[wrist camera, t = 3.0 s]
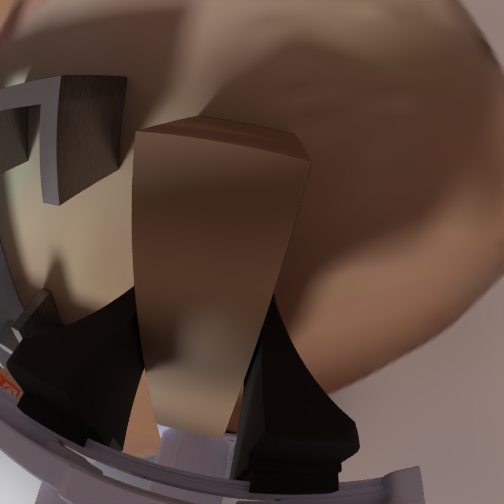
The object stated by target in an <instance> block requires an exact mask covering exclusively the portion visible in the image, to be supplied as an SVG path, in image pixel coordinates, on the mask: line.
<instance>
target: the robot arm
mask: <svg viewBox="0 0 504 504" xmlns="http://www.w3.org/2000/svg"><path fill="white" fill-rule="evenodd" d="M6 366H7V369H8V371H9V373H10V374H11V376H12V377H13V378H14V380H15V381H16V382H17V384H18V385H19V386H20V387H21V389H22V390H23V391H24V393H23V395H22V396H21V398H20V400H19V399H18V398H16V397H15V396H13V395H12V394H11V393H9V392H8V391H7V390H5V389H4V388H2V387H1V386H0V450H1V451H2V452H4V453H5V454H6V455H7V456H8V457H10V458H11V459H12V460H13V461H14V462H16V463H17V464H19V465H20V466H21V467H22V468H24V469H25V470H26V471H28V472H29V473H30V474H32V475H33V476H35V477H36V478H38V479H39V480H41V481H42V483H41V486H40V489H39V492H38V495H37V499H36V502H35V504H222V498H223V497H230V498H237V499H247V500H261V501H238V502H236V504H425V500H424V492H423V484H422V478H421V472H420V467H419V466H415V467H411V468H406V469H402V470H397V471H394V472H391V473H389V474H387V475H385V476H384V477H380V478H375V479H367V480H361V481H351V482H340V483H339V480H338V473H339V472H341V470H342V467H341V462H343V461H345V460H346V459H348V458H350V457H351V456H353V455H354V454H355V453H357V451H358V450H359V448H360V444H359V436H358V431H357V428H356V424H355V422H354V421H353V420H352V419H351V418H350V417H348V415H346V414H345V413H344V412H343V411H342V410H341V409H340V408H339V407H338V406H337V405H336V404H335V403H334V402H333V401H332V400H331V399H330V398H329V396H328V395H327V394H326V393H325V392H324V390H323V389H322V388H321V387H320V385H319V384H318V383H317V382H316V380H315V379H314V378H313V376H312V375H311V373H310V372H309V370H308V369H307V368H306V366H305V364H304V363H303V361H302V359H301V358H300V356H299V354H298V352H297V351H296V349H295V347H294V345H293V343H292V341H291V339H290V337H289V335H288V332H287V330H286V328H285V325H284V323H283V321H282V318H281V315H280V312H279V310H278V307H277V303H276V300H275V296H274V294H273V295H272V298H271V301H270V304H269V307H268V310H267V313H266V317H265V320H264V323H263V326H262V329H261V332H260V335H259V338H258V341H257V344H256V347H255V349H254V352H253V355H252V358H251V361H250V364H249V367H248V370H247V373H246V376H245V378H244V391H243V400H242V407H241V414H240V420H239V427H238V433H237V435H236V434H230V433H224V436H223V439H217V438H212V437H207V436H202V435H198V434H193V433H189V432H184V431H180V430H176V429H173V428H169V427H165V426H162V425H158V424H157V426H158V430H159V434H160V437H161V441H160V444H159V448H158V452H157V456H156V459H155V463H153V462H149V461H146V460H143V459H140V458H137V457H134V456H131V455H128V454H126V453H123V452H120V451H122V450H123V446H124V441H125V436H126V431H127V426H128V422H129V417H130V413H131V409H132V406H133V402H134V398H135V395H136V391H137V388H138V385H139V382H140V379H141V375H142V373H143V370H144V368H145V365H144V360H143V353H142V347H141V340H140V333H139V325H138V316H137V307H136V297H135V286H133V287H132V288H131V289H129V290H128V291H127V292H125V293H124V294H123V295H121V296H120V297H118V298H117V299H115V300H114V301H112V302H111V303H109V304H108V305H106V306H105V307H103V308H101V309H100V310H98V311H96V312H94V313H92V314H91V315H89V316H87V317H85V318H82V319H80V320H78V321H76V322H74V323H72V324H69V325H67V326H64V327H62V328H59V329H56V330H53V331H50V332H47V333H44V334H40V335H36V336H32V337H28V338H24V339H22V340H21V341H20V343H19V344H18V346H17V347H16V348H15V350H14V351H13V353H12V354H11V356H10V357H9V359H8V360H7V362H6ZM235 444H236V445H235ZM64 445H65V446H67V447H69V448H71V449H73V450H75V451H77V452H79V453H81V454H83V455H85V456H87V457H89V458H91V459H94V460H96V461H98V462H100V463H103V464H105V465H108V466H110V467H113V468H116V469H118V470H121V471H123V472H126V473H129V474H131V475H134V476H137V477H141V478H143V479H147V480H150V483H149V487H148V490H144V489H141V488H138V487H135V486H132V485H129V484H126V483H124V482H121V481H118V480H115V479H113V478H110V477H108V476H105V475H103V472H102V471H101V470H100V469H98V468H97V467H95V466H93V465H92V464H91V463H89V462H88V461H87V460H86V459H85V458H84V457H82V456H80V455H78V454H76V453H75V452H73V451H71V450H70V449H68V448H66V447H65V446H64ZM234 446H235V450H234V456H233V462H232V467H231V473H230V477H229V479H225V476H226V469H227V462H228V457H229V455H230V453H231V452H232V450H233V448H234Z"/></svg>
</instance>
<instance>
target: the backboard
mask: <svg viewBox="0 0 504 504" xmlns="http://www.w3.org/2000/svg"><path fill="white" fill-rule="evenodd" d="M23 311H24V310H23V308H22V305H21V303H20V300H19V298H18V295H17V293H16V290H15V287H14V284H13V281H12V279H11V276H10V273H9V269H8V266H7V263H6V260H5V256H4V253H3V249H2V245H1V242H0V366H1V367H3V368H4V369H5V367H6V362H7V360H8V359H9V357H10V356H11V354H12V353H13V351H14V350H15V348H16V347H17V346H18V344H19V341H18V340H17V338H16V336H15V334H14V332H13V330H12V328H11V326H12V325H13V323H14V322H15V321H16V320H17V318H18V317H19V316H20V315H21V313H22V312H23Z"/></svg>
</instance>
